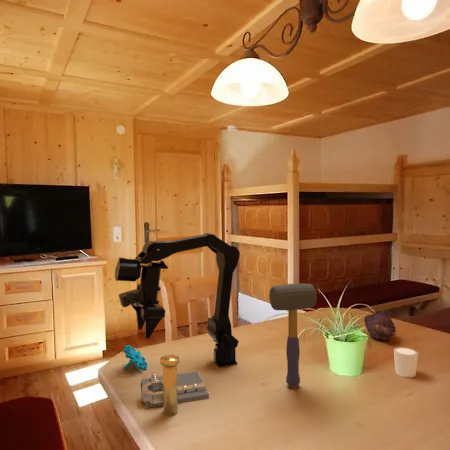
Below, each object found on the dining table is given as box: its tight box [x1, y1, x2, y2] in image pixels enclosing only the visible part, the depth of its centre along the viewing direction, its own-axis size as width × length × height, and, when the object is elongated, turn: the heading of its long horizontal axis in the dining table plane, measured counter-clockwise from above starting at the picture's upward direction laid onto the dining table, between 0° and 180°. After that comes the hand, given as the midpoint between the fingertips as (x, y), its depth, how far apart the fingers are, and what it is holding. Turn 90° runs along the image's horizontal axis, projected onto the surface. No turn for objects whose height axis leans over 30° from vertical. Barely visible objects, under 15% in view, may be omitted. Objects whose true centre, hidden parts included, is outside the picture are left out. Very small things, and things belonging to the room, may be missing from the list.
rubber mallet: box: [268, 283, 318, 388], centre depth 107 cm, size 12×8×30 cm, turn 103°
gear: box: [122, 344, 148, 371], centre depth 122 cm, size 11×6×10 cm
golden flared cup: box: [159, 354, 180, 417], centre depth 95 cm, size 5×5×14 cm
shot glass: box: [393, 347, 419, 378], centre depth 116 cm, size 7×7×7 cm
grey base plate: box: [141, 371, 210, 409], centre depth 107 cm, size 17×15×1 cm
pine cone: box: [363, 312, 397, 341], centre depth 147 cm, size 18×10×10 cm, turn 10°
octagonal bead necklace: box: [141, 372, 207, 404], centre depth 106 cm, size 17×15×2 cm
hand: (143, 333), depth 113 cm, fingers open, 9 cm apart
